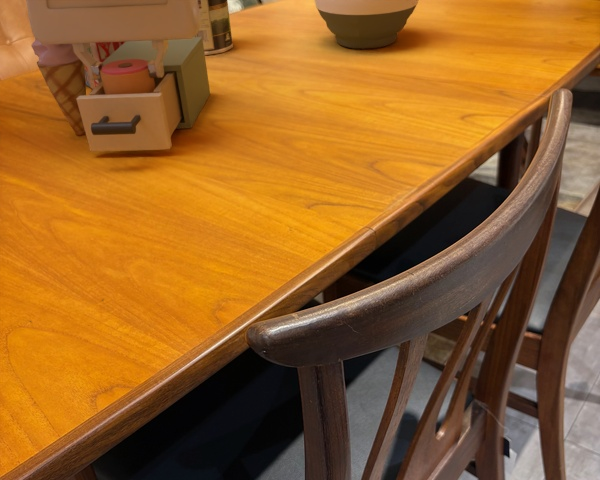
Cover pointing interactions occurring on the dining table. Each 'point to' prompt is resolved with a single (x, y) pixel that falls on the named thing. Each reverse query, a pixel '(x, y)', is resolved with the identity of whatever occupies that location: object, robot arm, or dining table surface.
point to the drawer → (132, 117)
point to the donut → (127, 77)
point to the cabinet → (183, 60)
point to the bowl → (365, 20)
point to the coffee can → (215, 26)
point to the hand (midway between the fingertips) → (128, 77)
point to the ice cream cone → (63, 79)
